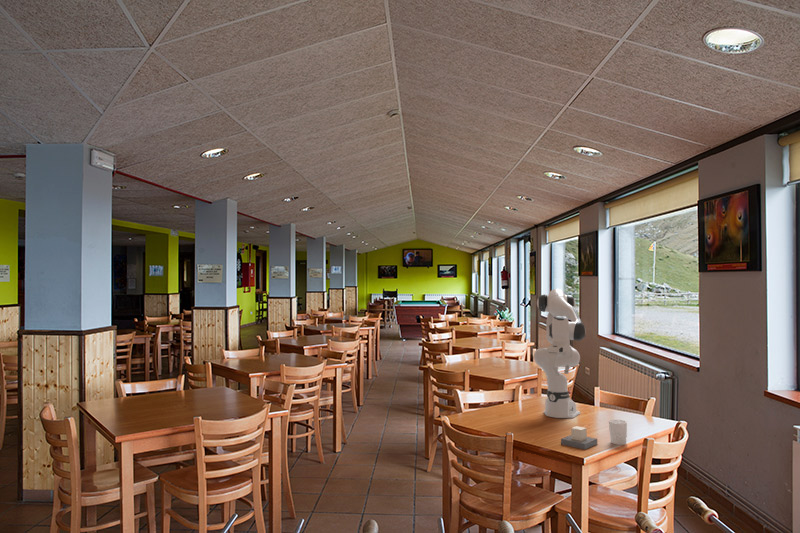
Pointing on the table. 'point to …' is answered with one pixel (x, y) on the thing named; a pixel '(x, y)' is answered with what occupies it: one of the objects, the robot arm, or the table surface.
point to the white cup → (618, 431)
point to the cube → (579, 433)
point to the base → (579, 442)
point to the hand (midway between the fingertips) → (561, 374)
